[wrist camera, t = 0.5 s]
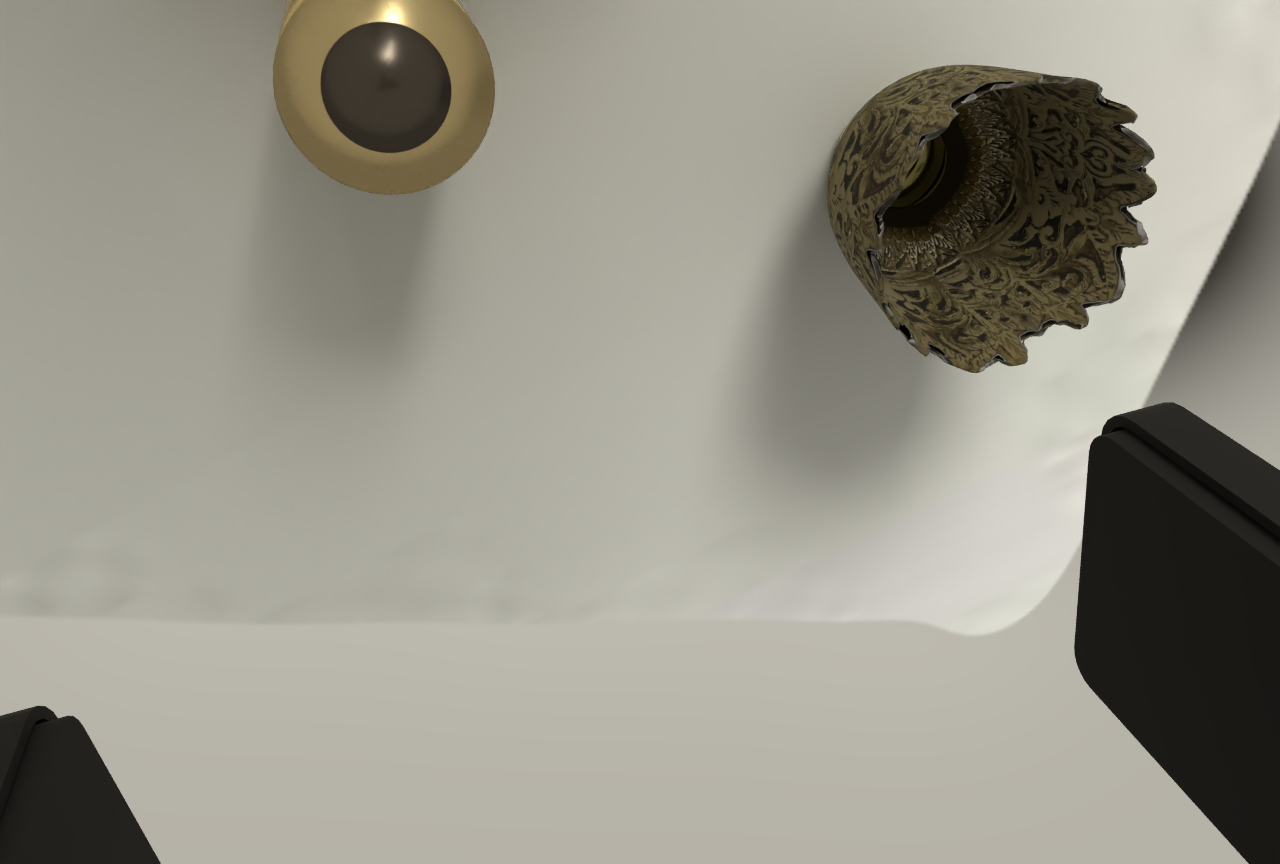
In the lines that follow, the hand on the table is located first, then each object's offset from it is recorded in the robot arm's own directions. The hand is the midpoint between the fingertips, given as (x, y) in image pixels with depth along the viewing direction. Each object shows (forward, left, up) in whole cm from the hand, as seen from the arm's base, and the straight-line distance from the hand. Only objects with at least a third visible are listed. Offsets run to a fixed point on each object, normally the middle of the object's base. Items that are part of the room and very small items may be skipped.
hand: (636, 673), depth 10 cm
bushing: (-2, -1, -23) cm, 23 cm away
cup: (+4, +13, -23) cm, 27 cm away
